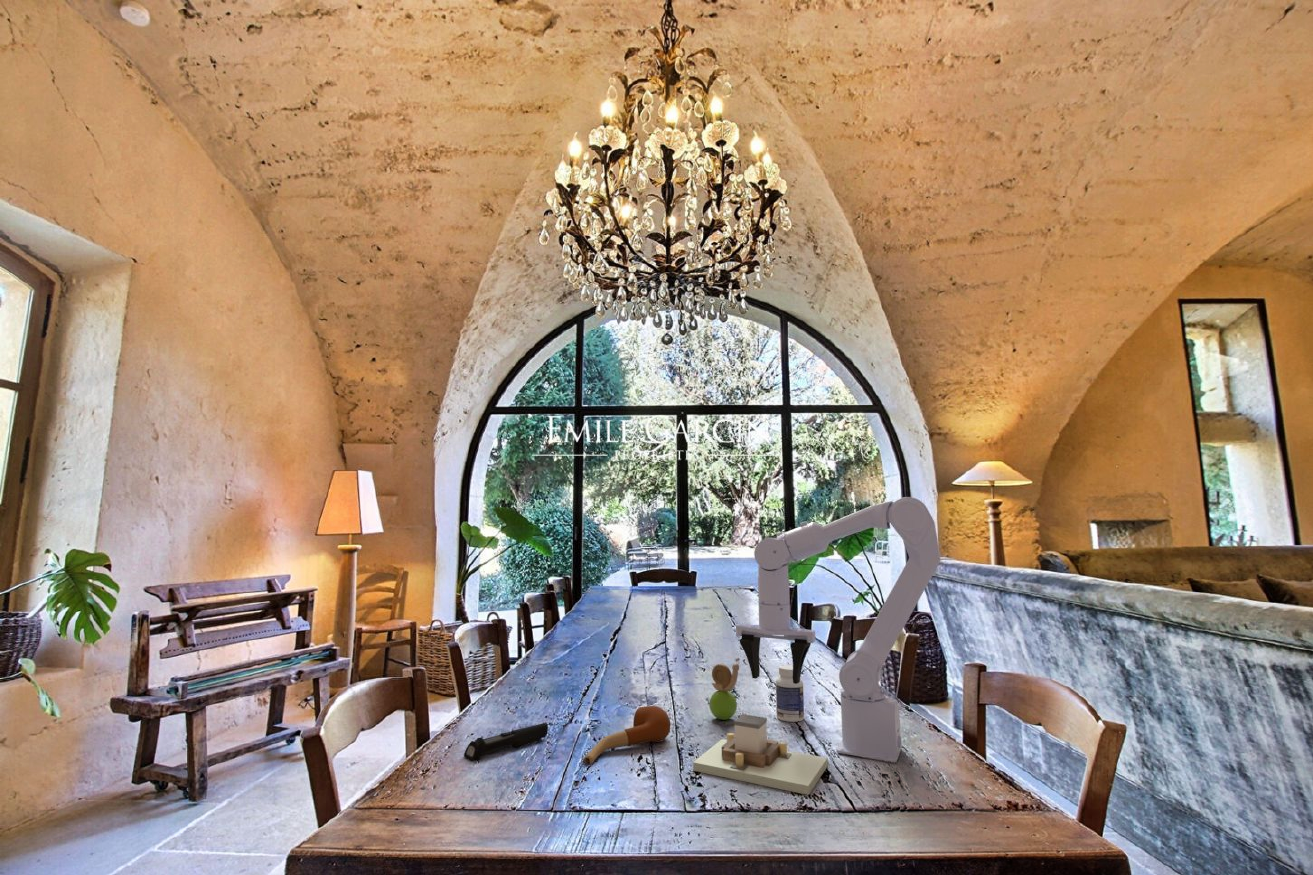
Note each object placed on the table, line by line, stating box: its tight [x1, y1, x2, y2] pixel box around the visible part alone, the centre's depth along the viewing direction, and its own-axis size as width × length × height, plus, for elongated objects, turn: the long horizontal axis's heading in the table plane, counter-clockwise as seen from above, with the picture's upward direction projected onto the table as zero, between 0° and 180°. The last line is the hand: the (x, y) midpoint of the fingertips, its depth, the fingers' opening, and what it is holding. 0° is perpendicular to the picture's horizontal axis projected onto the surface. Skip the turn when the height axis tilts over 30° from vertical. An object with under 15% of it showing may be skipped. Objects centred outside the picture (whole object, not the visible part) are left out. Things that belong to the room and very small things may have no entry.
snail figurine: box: [708, 657, 741, 721], centre depth 120 cm, size 5×6×12 cm
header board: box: [692, 732, 829, 796], centre depth 95 cm, size 18×12×3 cm, turn 62°
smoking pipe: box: [583, 705, 671, 765], centre depth 103 cm, size 7×18×6 cm, turn 143°
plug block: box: [733, 713, 768, 754], centre depth 97 cm, size 4×4×6 cm
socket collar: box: [722, 736, 779, 768], centre depth 97 cm, size 8×8×2 cm
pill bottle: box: [775, 664, 805, 723], centre depth 121 cm, size 5×5×10 cm
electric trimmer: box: [463, 722, 549, 762], centre depth 104 cm, size 4×15×3 cm, turn 134°
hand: (775, 679), depth 110 cm, fingers open, 7 cm apart
